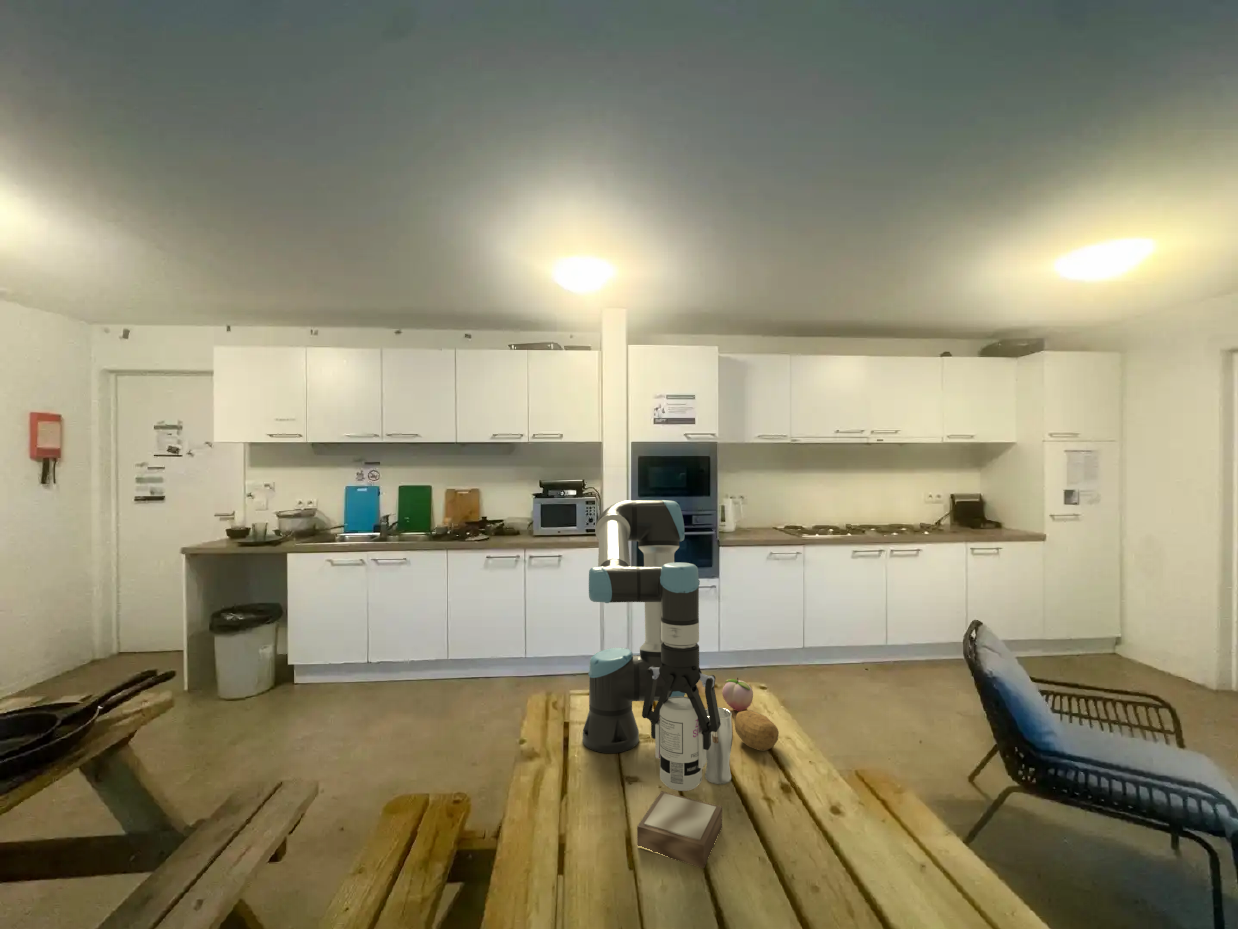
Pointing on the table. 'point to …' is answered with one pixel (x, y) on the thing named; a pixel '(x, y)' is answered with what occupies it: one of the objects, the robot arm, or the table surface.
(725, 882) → the table surface
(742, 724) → the potato
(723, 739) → the metal tumbler
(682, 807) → the base
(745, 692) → the decorative fruit
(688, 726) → the supplement can
